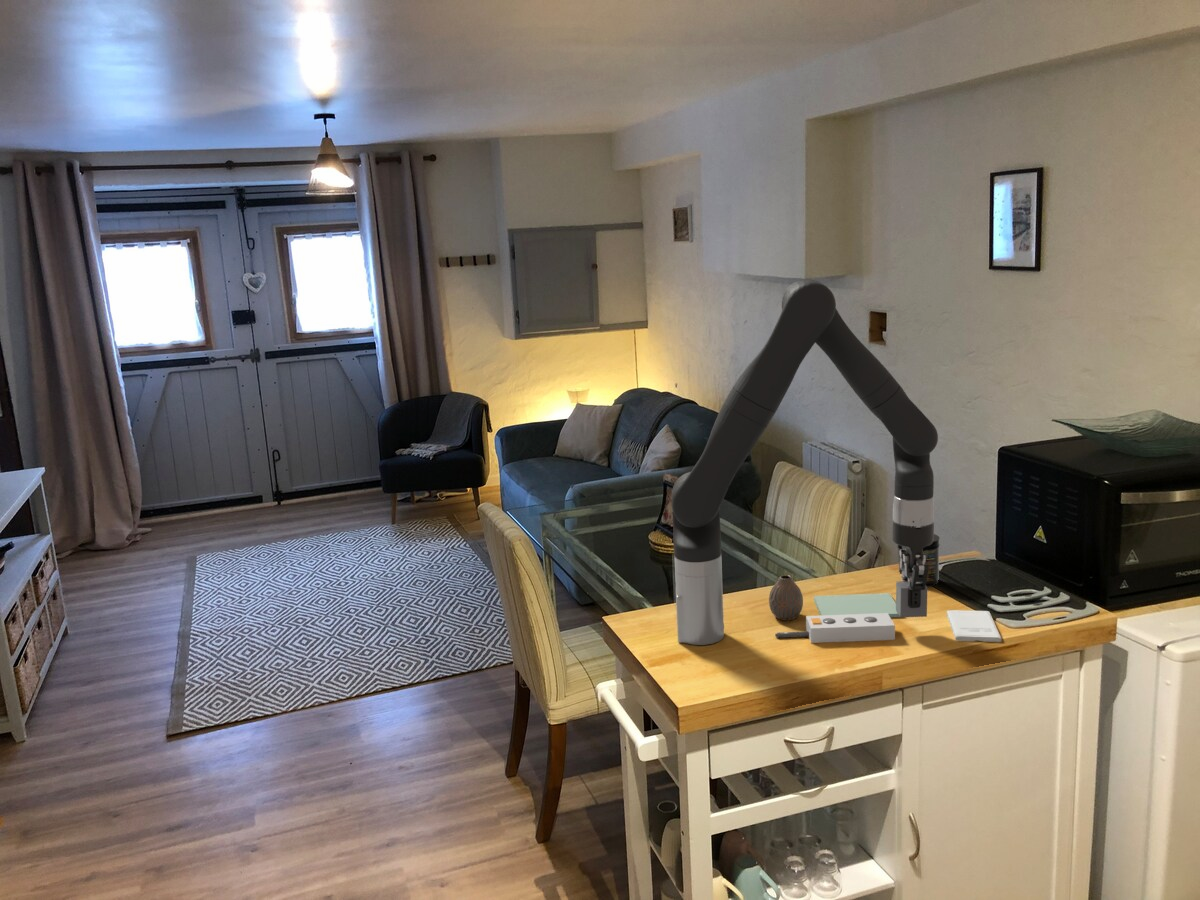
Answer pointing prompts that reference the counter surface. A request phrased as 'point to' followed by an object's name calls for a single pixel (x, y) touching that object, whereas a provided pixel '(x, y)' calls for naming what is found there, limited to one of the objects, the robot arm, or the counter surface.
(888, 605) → the mat
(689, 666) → the counter surface
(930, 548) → the supplement container
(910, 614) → the plug
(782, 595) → the vase
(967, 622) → the external hard drive
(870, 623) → the power strip
